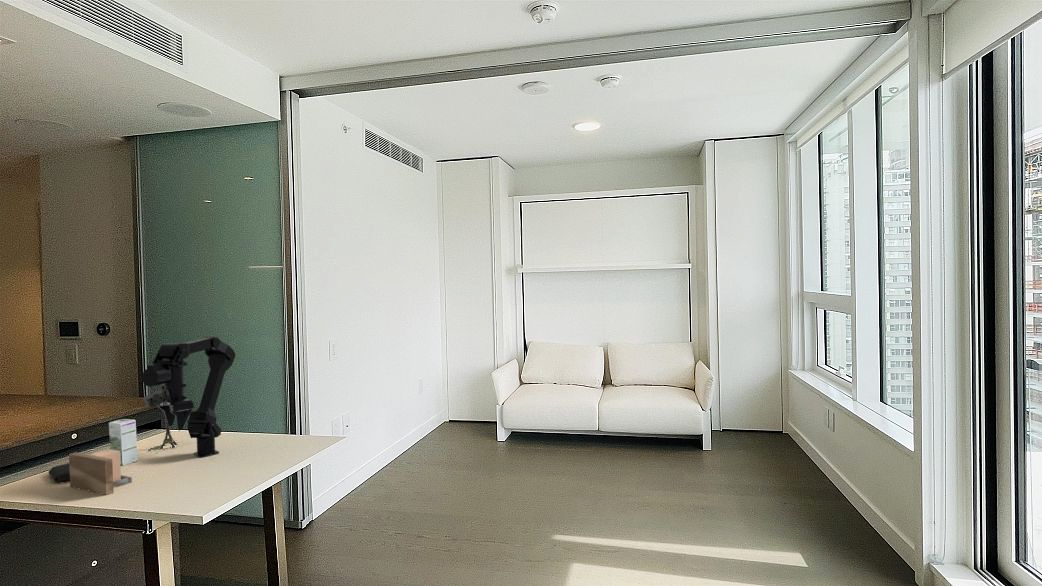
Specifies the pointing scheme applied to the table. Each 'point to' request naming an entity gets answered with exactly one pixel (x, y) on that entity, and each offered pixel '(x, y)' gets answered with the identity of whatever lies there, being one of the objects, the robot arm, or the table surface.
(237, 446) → the table surface
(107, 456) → the pinkish tan block
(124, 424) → the syrup box
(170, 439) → the eiffel tower figurine
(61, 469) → the carrying case or bag
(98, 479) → the cleat board
